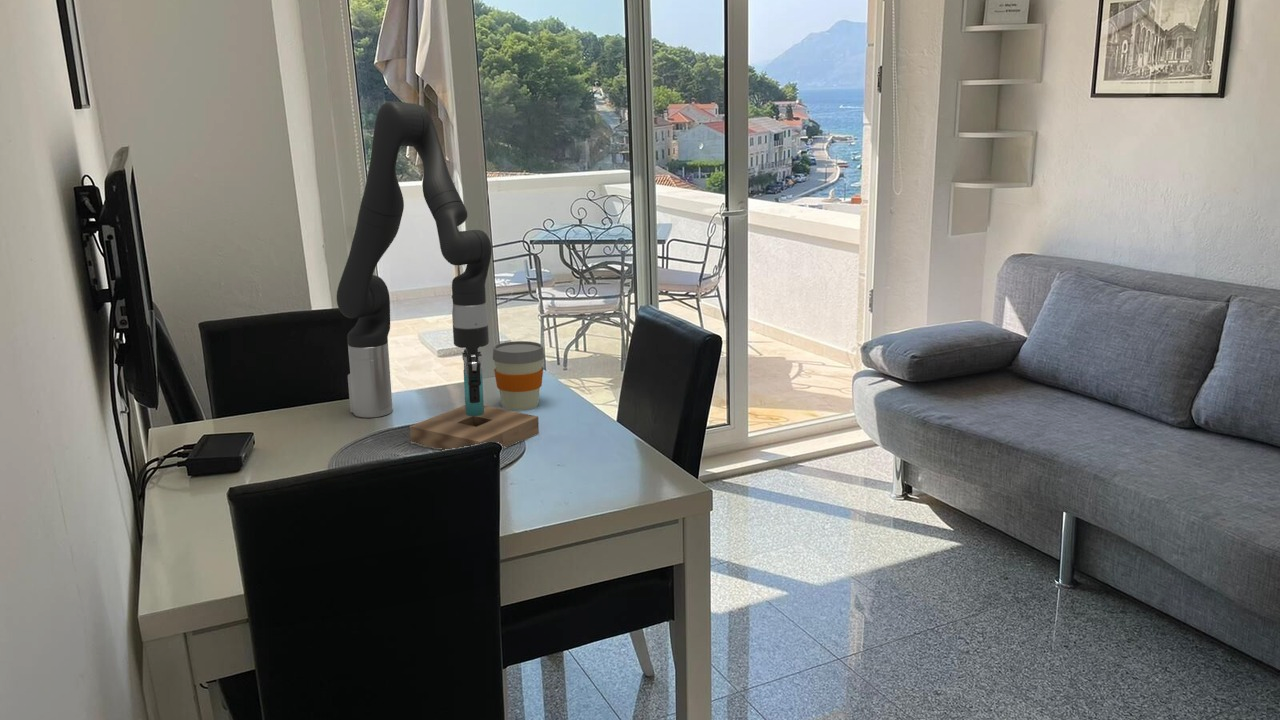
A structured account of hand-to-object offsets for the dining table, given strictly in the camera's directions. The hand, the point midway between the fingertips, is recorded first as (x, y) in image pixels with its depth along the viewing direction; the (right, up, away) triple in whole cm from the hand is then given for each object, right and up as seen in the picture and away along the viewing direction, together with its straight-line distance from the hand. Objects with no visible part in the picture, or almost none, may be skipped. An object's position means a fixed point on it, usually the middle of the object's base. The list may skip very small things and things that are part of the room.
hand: (474, 399), depth 203 cm
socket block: (0, -9, +2) cm, 9 cm away
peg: (0, -3, +1) cm, 3 cm away
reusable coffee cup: (+7, -3, +27) cm, 28 cm away
